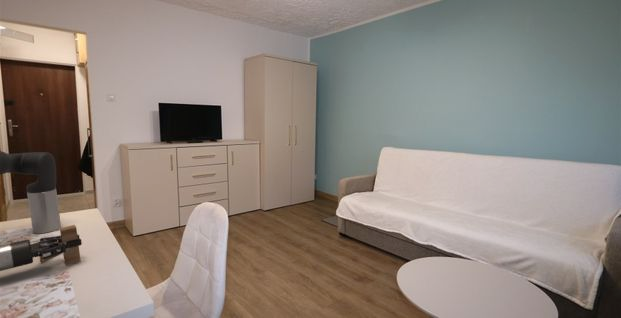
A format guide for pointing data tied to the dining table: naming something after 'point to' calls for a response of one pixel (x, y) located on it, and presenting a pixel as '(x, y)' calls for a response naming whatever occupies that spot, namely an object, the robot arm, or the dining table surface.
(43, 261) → the shard
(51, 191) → the robot arm
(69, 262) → the pillar
